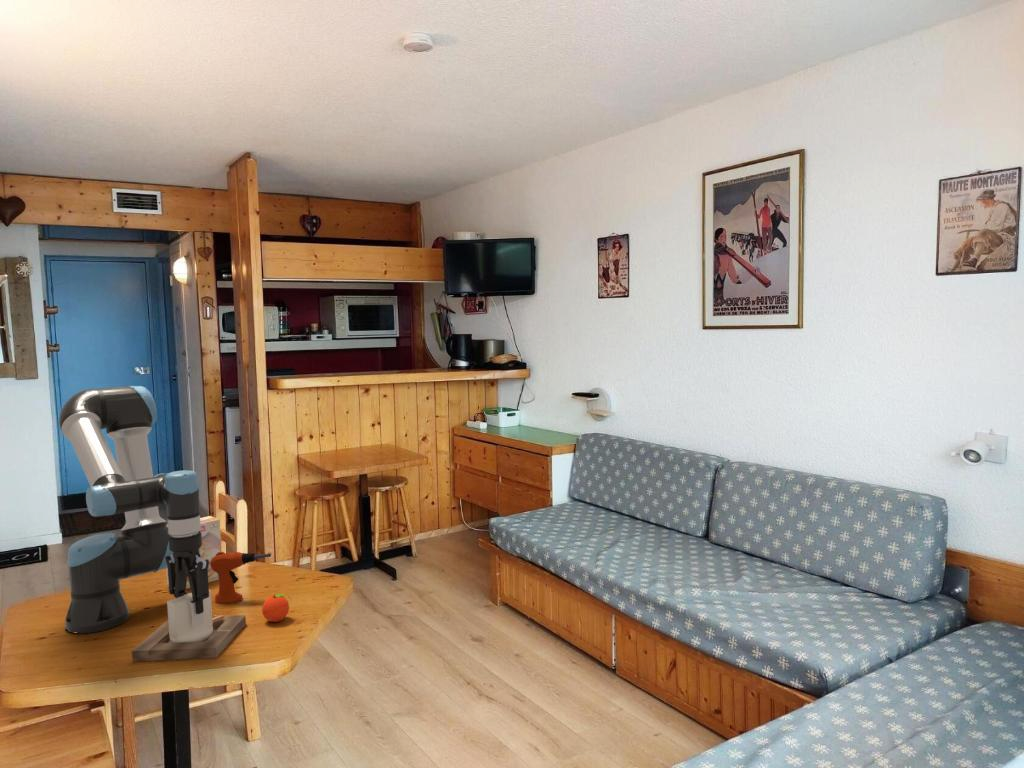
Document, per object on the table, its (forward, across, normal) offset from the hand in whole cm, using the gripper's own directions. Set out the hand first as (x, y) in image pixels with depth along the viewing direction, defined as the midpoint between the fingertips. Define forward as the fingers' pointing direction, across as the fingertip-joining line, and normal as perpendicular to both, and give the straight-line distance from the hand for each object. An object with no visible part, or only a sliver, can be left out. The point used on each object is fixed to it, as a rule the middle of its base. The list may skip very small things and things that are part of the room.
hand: (191, 623), depth 182 cm
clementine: (+5, -10, -19) cm, 22 cm away
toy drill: (+5, +11, -26) cm, 29 cm away
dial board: (+5, 0, 0) cm, 5 cm away
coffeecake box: (+5, +38, -30) cm, 49 cm away
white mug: (+4, 0, -2) cm, 4 cm away
